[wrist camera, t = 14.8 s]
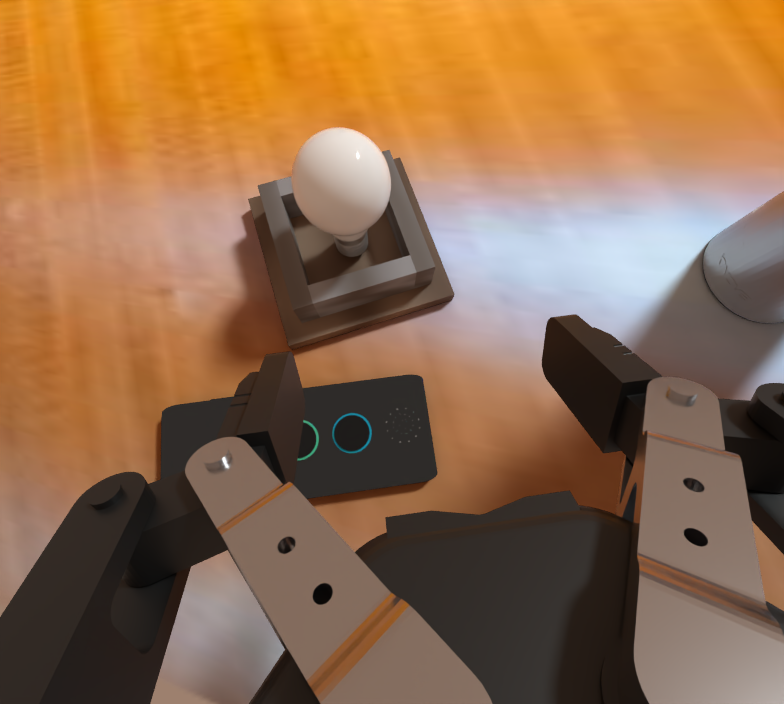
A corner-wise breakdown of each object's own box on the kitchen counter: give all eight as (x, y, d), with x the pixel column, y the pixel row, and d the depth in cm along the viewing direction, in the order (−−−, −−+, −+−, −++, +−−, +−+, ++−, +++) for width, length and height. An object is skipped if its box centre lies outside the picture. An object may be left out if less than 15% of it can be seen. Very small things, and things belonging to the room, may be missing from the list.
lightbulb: (317, 284, 31) (281, 200, 21) (312, 217, 33) (276, 106, 22) (394, 276, 32) (398, 189, 21) (385, 210, 33) (385, 97, 22)
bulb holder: (399, 167, 36) (400, 130, 32) (452, 299, 32) (461, 278, 28) (252, 207, 34) (234, 175, 30) (292, 349, 31) (278, 334, 27)
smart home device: (439, 482, 28) (159, 522, 27) (436, 480, 29) (172, 517, 28) (422, 370, 30) (160, 404, 29) (420, 374, 31) (172, 407, 30)
